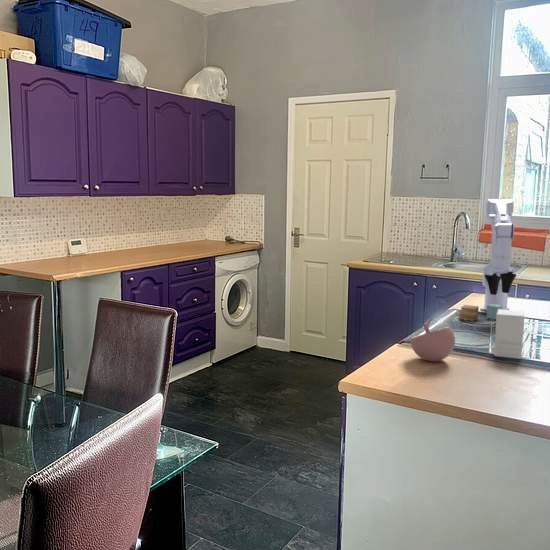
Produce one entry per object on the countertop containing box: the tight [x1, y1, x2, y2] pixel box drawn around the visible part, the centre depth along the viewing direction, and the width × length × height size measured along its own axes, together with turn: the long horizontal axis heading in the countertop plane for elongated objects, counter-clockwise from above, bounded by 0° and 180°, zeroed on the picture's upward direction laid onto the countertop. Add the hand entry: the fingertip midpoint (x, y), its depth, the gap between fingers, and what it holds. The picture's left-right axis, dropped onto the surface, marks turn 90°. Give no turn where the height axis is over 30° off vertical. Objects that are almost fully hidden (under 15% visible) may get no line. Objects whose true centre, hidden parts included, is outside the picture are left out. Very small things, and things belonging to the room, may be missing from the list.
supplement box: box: [494, 309, 525, 360], centre depth 163 cm, size 7×7×13 cm
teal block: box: [486, 304, 502, 320], centre depth 208 cm, size 4×4×5 cm
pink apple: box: [409, 319, 456, 362], centre depth 157 cm, size 12×12×12 cm
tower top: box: [460, 304, 480, 316], centre depth 207 cm, size 5×5×2 cm
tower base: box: [458, 312, 479, 322], centre depth 207 cm, size 5×5×2 cm
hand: (499, 293), depth 204 cm, fingers open, 7 cm apart
